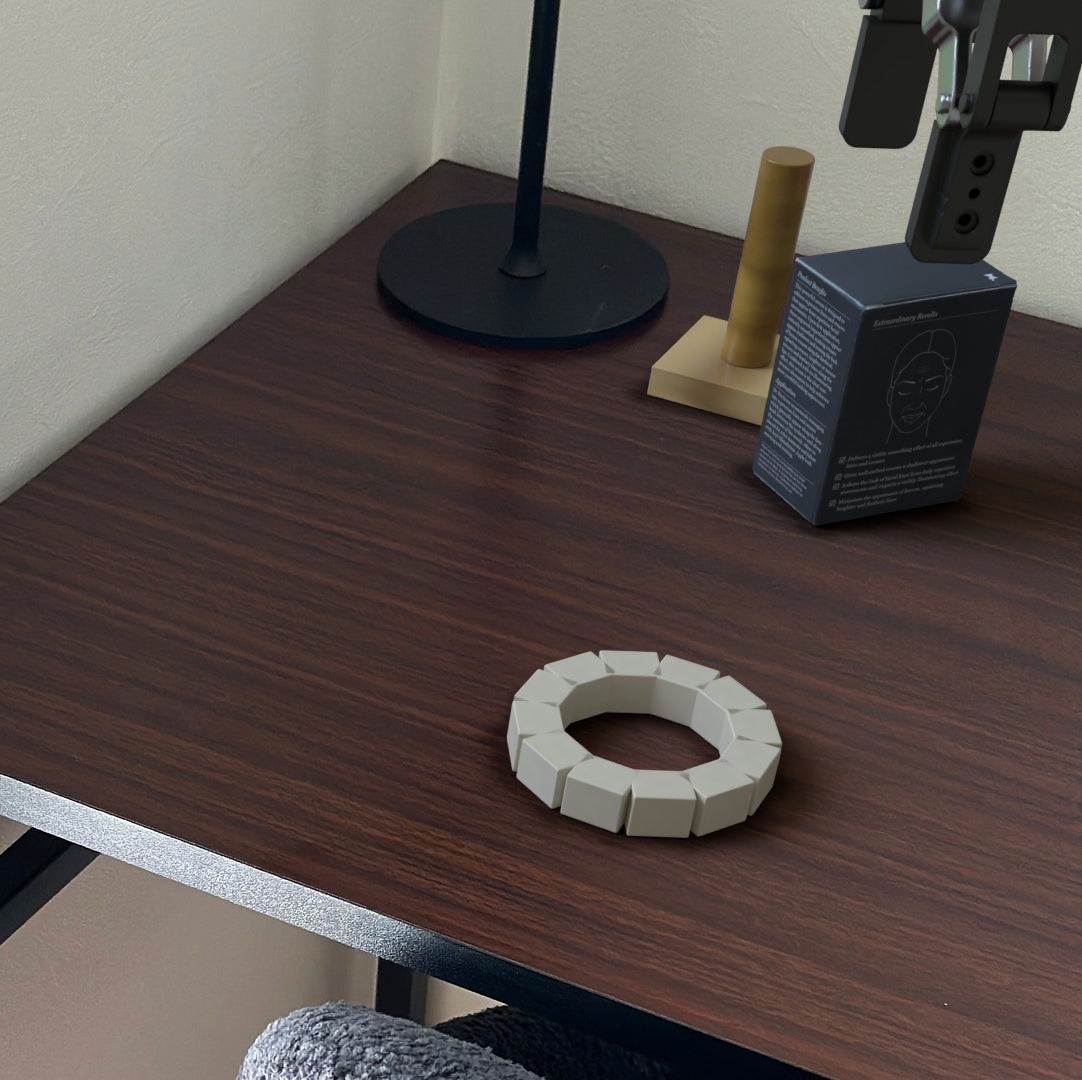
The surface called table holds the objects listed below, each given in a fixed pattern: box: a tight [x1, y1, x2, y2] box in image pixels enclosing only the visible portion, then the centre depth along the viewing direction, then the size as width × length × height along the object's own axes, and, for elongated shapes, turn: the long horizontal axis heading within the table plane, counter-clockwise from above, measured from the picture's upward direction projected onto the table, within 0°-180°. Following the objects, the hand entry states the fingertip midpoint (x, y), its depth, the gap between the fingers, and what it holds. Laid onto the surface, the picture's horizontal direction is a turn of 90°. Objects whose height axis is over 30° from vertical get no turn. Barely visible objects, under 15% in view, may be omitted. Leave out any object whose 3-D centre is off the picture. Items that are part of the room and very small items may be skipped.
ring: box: [506, 649, 783, 839], centre depth 91 cm, size 10×10×2 cm
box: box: [751, 241, 1018, 526], centre depth 105 cm, size 8×6×11 cm
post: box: [646, 145, 816, 427], centre depth 112 cm, size 7×7×12 cm
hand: (906, 198), depth 69 cm, fingers open, 8 cm apart
